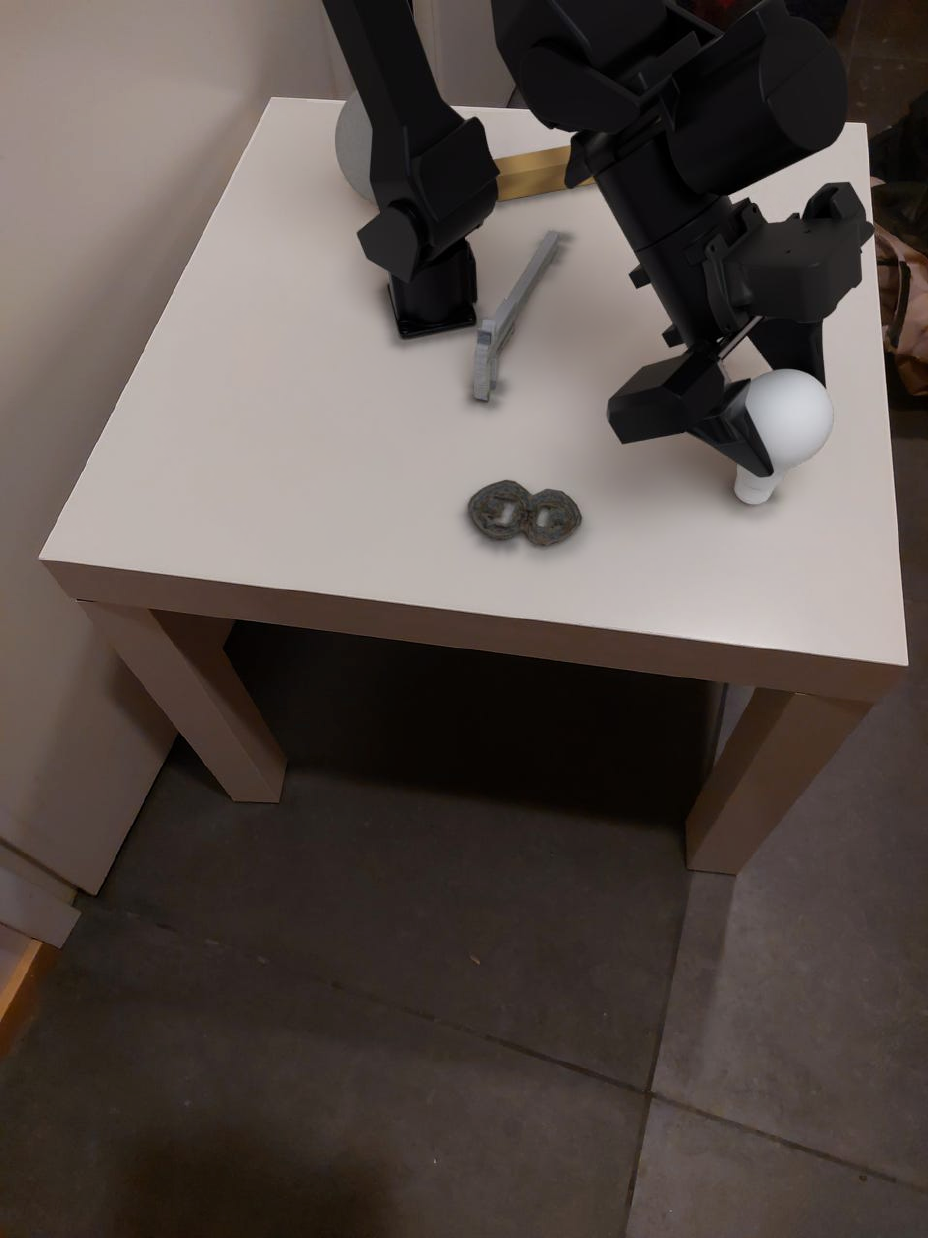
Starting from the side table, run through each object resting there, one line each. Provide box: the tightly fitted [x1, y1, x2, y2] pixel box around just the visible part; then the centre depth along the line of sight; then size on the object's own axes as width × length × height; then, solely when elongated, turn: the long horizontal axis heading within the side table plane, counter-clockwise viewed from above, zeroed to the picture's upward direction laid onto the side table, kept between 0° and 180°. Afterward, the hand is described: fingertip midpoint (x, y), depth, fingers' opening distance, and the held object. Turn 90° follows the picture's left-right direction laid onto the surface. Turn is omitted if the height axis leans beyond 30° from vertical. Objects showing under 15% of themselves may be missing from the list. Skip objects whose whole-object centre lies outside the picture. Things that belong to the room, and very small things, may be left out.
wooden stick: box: [493, 144, 596, 202], centre depth 77 cm, size 11×2×2 cm, turn 102°
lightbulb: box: [733, 369, 835, 505], centre depth 55 cm, size 6×6×11 cm
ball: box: [334, 88, 377, 206], centre depth 74 cm, size 10×10×10 cm
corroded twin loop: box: [467, 479, 583, 546], centre depth 59 cm, size 5×8×1 cm, turn 76°
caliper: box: [472, 230, 564, 401], centre depth 67 cm, size 20×1×6 cm, turn 160°
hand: (793, 445), depth 54 cm, fingers closed on lightbulb, 6 cm apart
